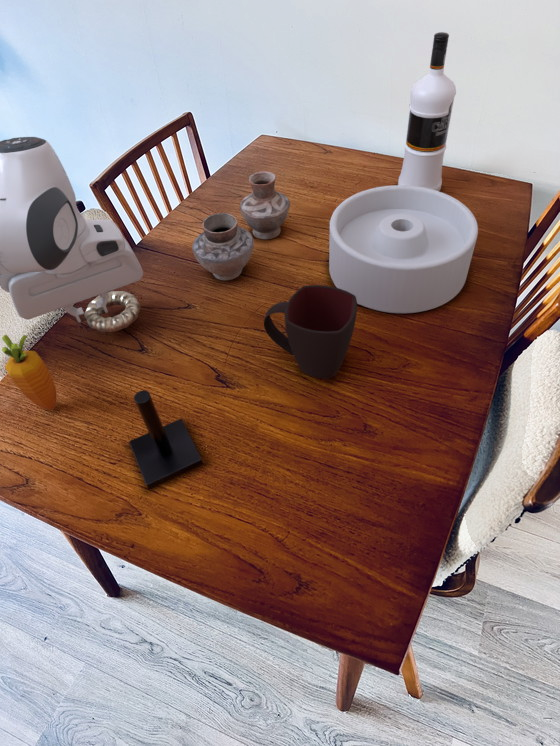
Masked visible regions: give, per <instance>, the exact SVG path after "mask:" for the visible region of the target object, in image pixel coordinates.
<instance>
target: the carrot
mask: <svg viewBox="0 0 560 746" xmlns="http://www.w3.org/2000/svg"><path fill="white" fill-rule="evenodd" d="M27 337H28V335H27V334H23V335H22V336H21V338H20V339H19V343H15V342H14V343H13V342H12V340H11V338H10V337H9V336H8V334H4V335H3V336H2V337H1V340H2V341H3V343H5V345H6V346H3V347H2V348H1V351H2V352H3V354H5V355H7V356H9V359H8V361H7V362H6V364H5V366H4V369H5V371H6V373H7V374H8V376H9V378H11V380H12V381H13V382H14V384H15V385H16V386H17V387H18V389H19V390H20V391H21V392H22V394H23V395H24V396H25V397H26V398H27V399H29V401H31V402H32V403H33V404H34V405H36V406H38V407H40V408H42V409H45V410H48V411H52V410H54V409H55V407H56V405H57V397H58V396H57V390H56V385H55V383H54V379H53V377H52V374H51V373H50V371H49V369H48V368H47V366H46V364H45V362H44V361H43V359H42V357H40V355H39V353H38V352H37V351H35V350H24V348H23V347H24V343H25V341H26V339H27Z"/></svg>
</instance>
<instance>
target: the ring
mask: <svg viewBox="0 0 560 746" xmlns="http://www.w3.org/2000/svg"><path fill="white" fill-rule="evenodd" d="M108 294H109V298H108V301H107V305H106V307H107V308H110V307H112V306H123V307H124V310H123V311H121V312H120V313H119V314H117V315H114V316H112V317H110V316H109V317H103V315H102V316H101V315H100V314H99V312H98V309H97V307H96V305H95V302H97V301H99V299H100V295H97V296H95V298H94V299H93V300H91V301H90V302H89V303H88V305H87V307H86V309H85V312H84V314H85V316H86V319H87V320H86V323H87V325H88V326H89V327H90V328H92V329H94V330H96V331H97V332H101V333H115V332H118V331H121V330H123V329H126V328H129V326H130V325H132V324H133V323H134V322H135V321H136V320H138V318H139V315H140V312H141V303H140V301H139V300H138V298H137V297H136V295H134V294H132V293H130V292H128V291H124V290H111V291H109V292H108Z"/></svg>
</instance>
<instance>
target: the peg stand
mask: <svg viewBox="0 0 560 746" xmlns="http://www.w3.org/2000/svg"><path fill="white" fill-rule="evenodd" d="M133 401H134V403H135V405H136V408H137V410H138V412H139V414H140V417H141V419H142V421H143V422H144V423H143V424H144V426H145V428H146V430H147V433H145V434H143V435H140V436H138V437H136V438H134V439H131V440H129V442H128V443H129V446H130V448H131V450H132V453H133V456H134V458H135V461H136V464H137V466H138V468H139V471H140V473H141V476H142V479H143V481H144V484H145V486H146V488H147V490H151V489H152V488H154V487H157V486H158V485H161V484H163V483H165V482H168V481H169V480H172V479H174V478H176V477H178V476H180V475H182V474H184V473H186V472H188V471H191V470H193V469H195V468H198V467H200V466H202V465H204V461H203V459H202V456H201V455H200V453H199V451H198V449H197V447H196V444H195V443H194V440H193V438H192V436H191V435H190V432H189V430H188V428H187V426H186V424H185V423H184V420H183V419H182V418H179V419H177V420H174V421H173V422H170V423H168V424H165V425H163V423H162V420H161V417H160V415H159V413H158V410H157V408H156V406H155V403H154V401H153V398H152V396H151V393H150V392H149V391H148V390H139V391H137V392H136V393H135V394H134V396H133Z"/></svg>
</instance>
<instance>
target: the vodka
mask: <svg viewBox="0 0 560 746" xmlns="http://www.w3.org/2000/svg"><path fill="white" fill-rule="evenodd" d="M449 37H450V34H449V33H448V32H445V31H441V32H436V33H434V35H433V41H432V47H431V48H432V49H431V55H430V56H431V57H430V63H429V68H428V69H429V70H428V73H427V74H425V75H423V76H422V77H421V78H419V79H418V80H416V81H415V82H414V83H413V85H412V87H411V90H410V100H409V102H410V103H409V106H408V107H409V113H408V121H407V122H408V123H407V129H406V137H405V138H406V139H405V142H404V153H403V154H404V155H403V159H402V160H403V161H402V165H401V170H400V174H399V176H398V181H397V185H407V186H418V187H424V188H428V189H433V190H436V191H439V192H441V189H442V185H443V184H442V183H443V178H442V174H443V163H444V157H445V153H446V149H447V141H448V134H449V130H450V124H451V117H452V113H453V106H454V100H455V97H456V94H457V89H456V88H457V87H456V84H455V83H454V81H453V80H452V79H451V78H450V77H448V76H447V75H446V74H444V73H445V72H444V71H445V62H446V57H447V50H448V43H449Z"/></svg>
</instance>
